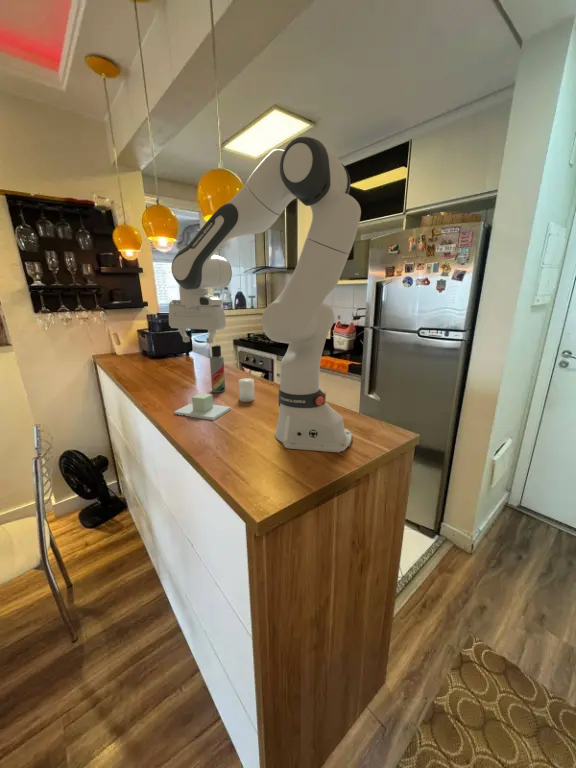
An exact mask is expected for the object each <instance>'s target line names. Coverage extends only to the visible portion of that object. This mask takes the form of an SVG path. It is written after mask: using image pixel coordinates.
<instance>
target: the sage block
mask: <svg viewBox="0 0 576 768" xmlns="http://www.w3.org/2000/svg"><path fill="white" fill-rule="evenodd" d="M213 397H214V396H213V394H211V393H204V392H203V393H201V392H200V393H198V394H196V395H193V396H192V397H191V403H192V405H193V411H199V412H207V411H208V410H210V409H212V408H213V405H214V399H213Z"/></svg>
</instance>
